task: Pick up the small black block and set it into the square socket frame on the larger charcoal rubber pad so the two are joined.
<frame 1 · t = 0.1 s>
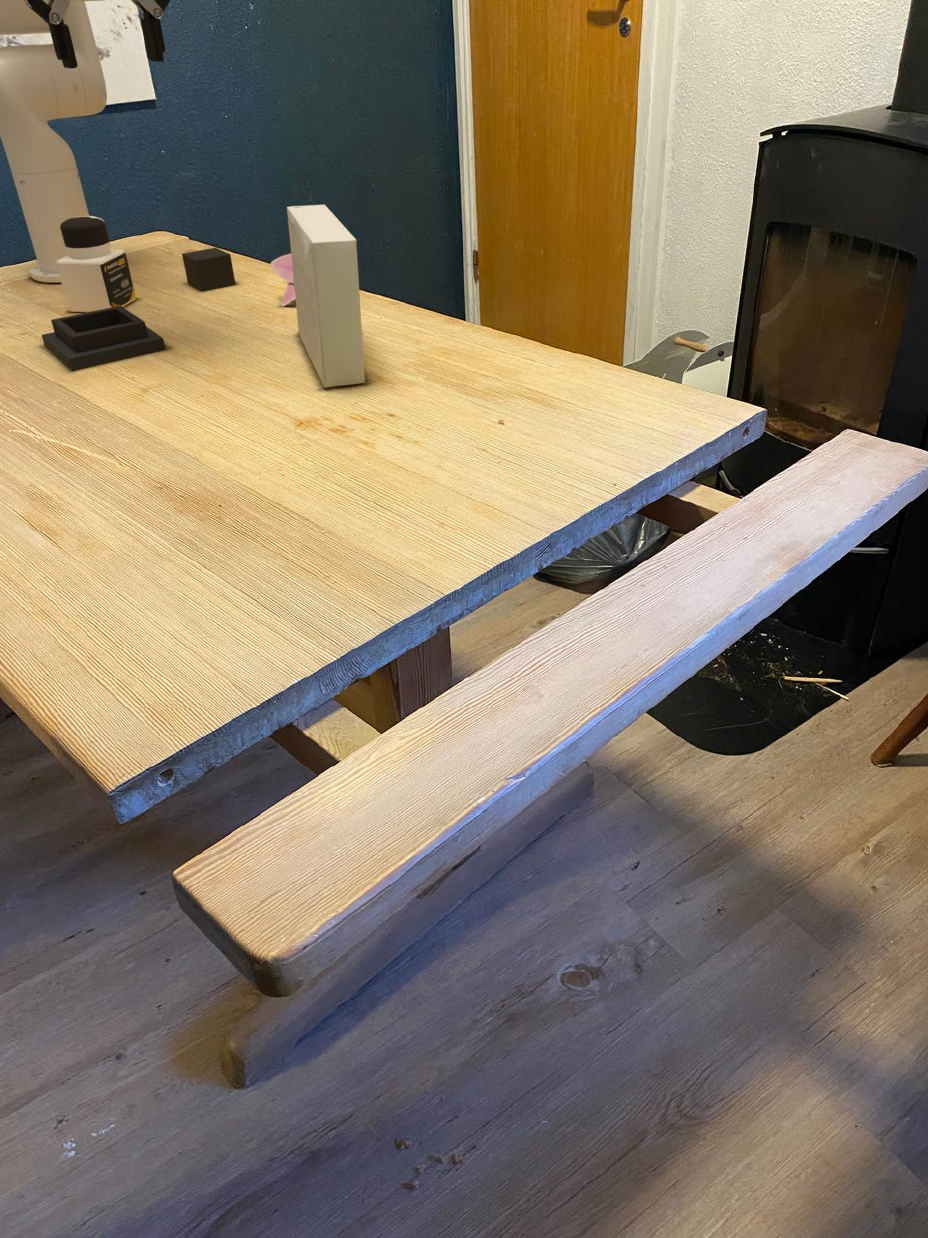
hand: (114, 64, 101), 31 cm above the table, tool pointing down, fingers open, 9 cm apart
base pad: (104, 347, 118), on the table
skincare box: (332, 359, 112), on the table
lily: (312, 304, 131), on the table
medicine bottle: (103, 306, 133), on the table
black block: (211, 283, 141), on the table
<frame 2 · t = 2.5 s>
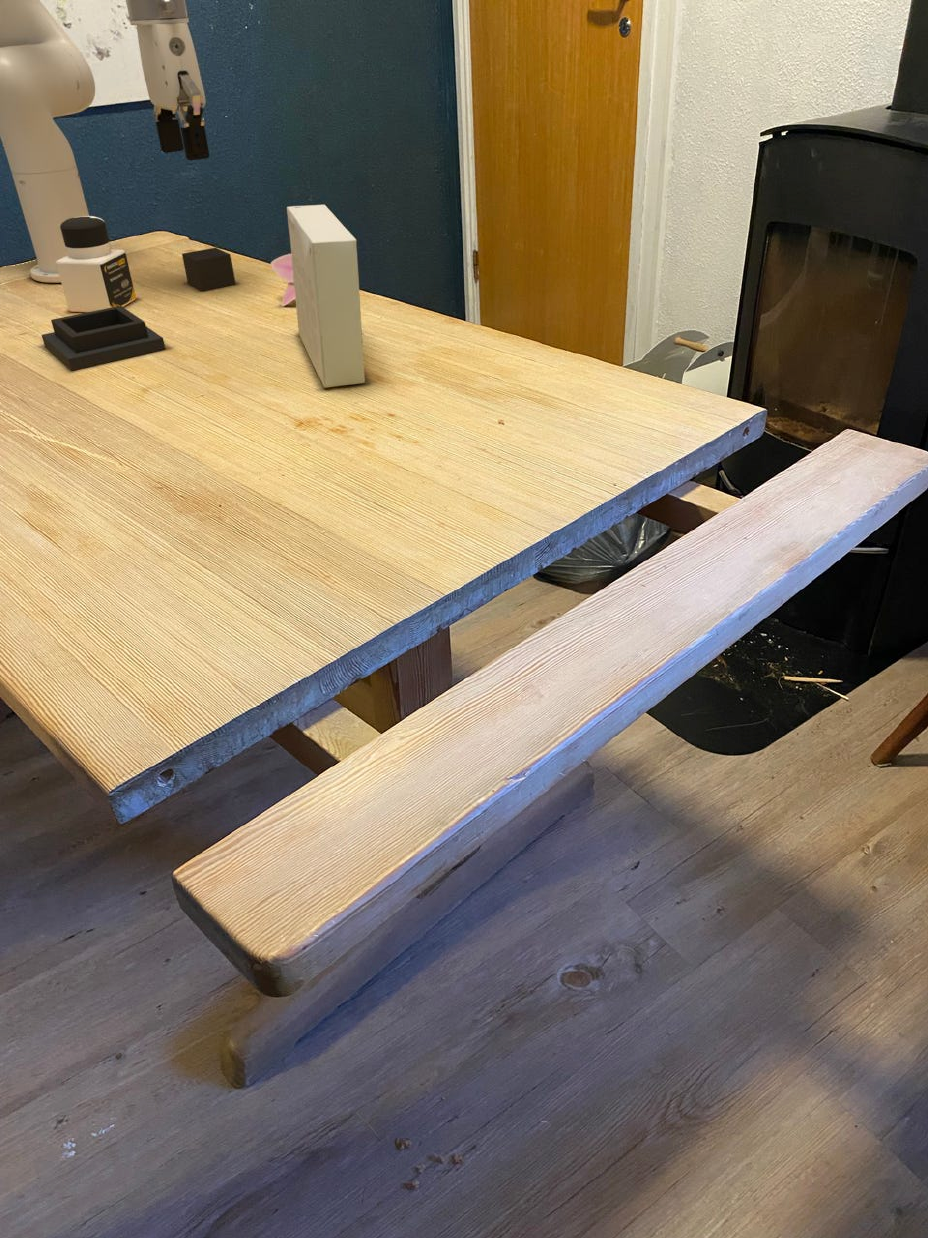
hand: (185, 154, 129), 18 cm above the table, tool pointing down, fingers open, 9 cm apart
nothing on the table moved.
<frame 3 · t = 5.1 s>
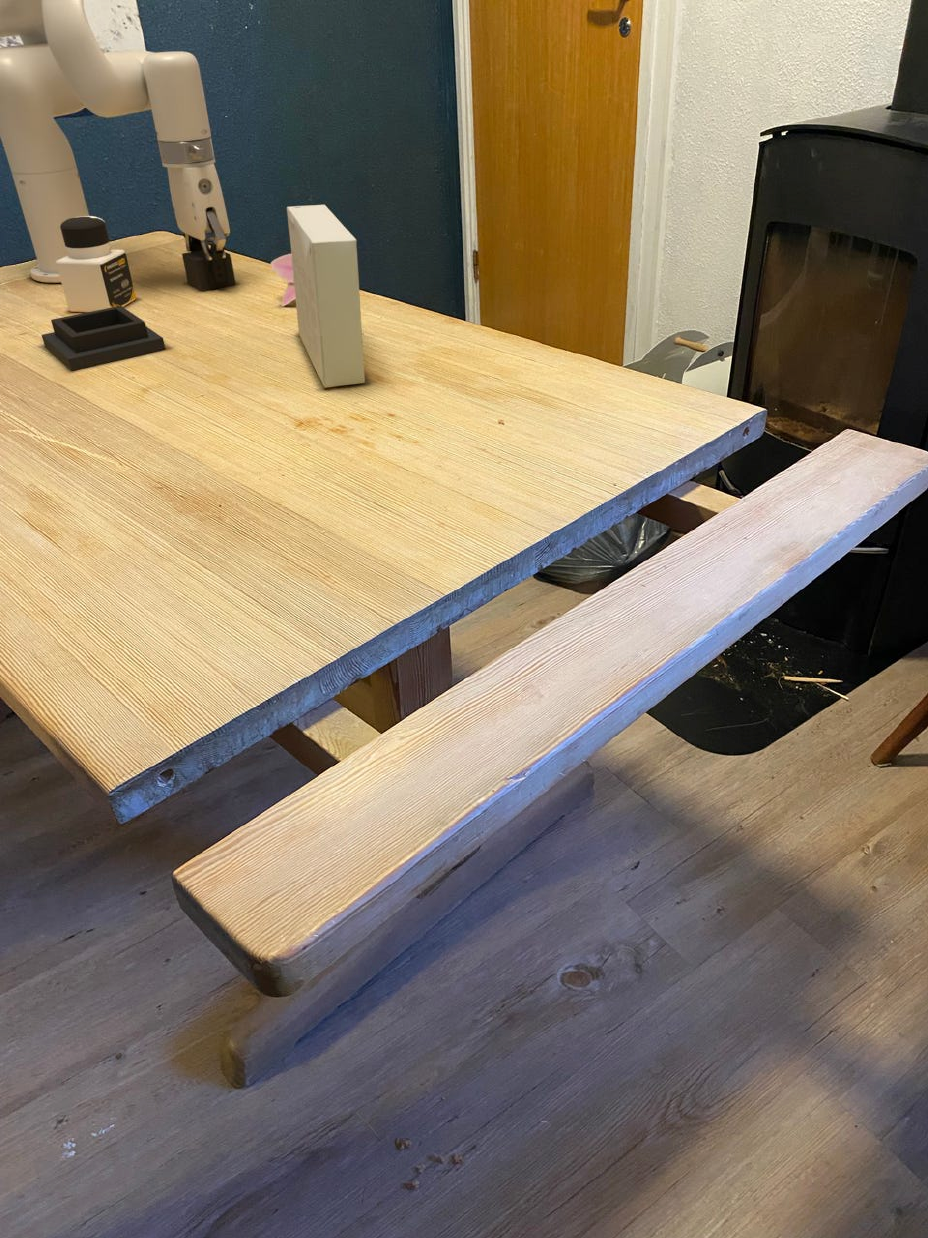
hand: (211, 280, 141), 1 cm above the table, tool pointing down, fingers closed on black block, 5 cm apart
black block: (211, 283, 141), on the table, touching gripper
everything else where it was.
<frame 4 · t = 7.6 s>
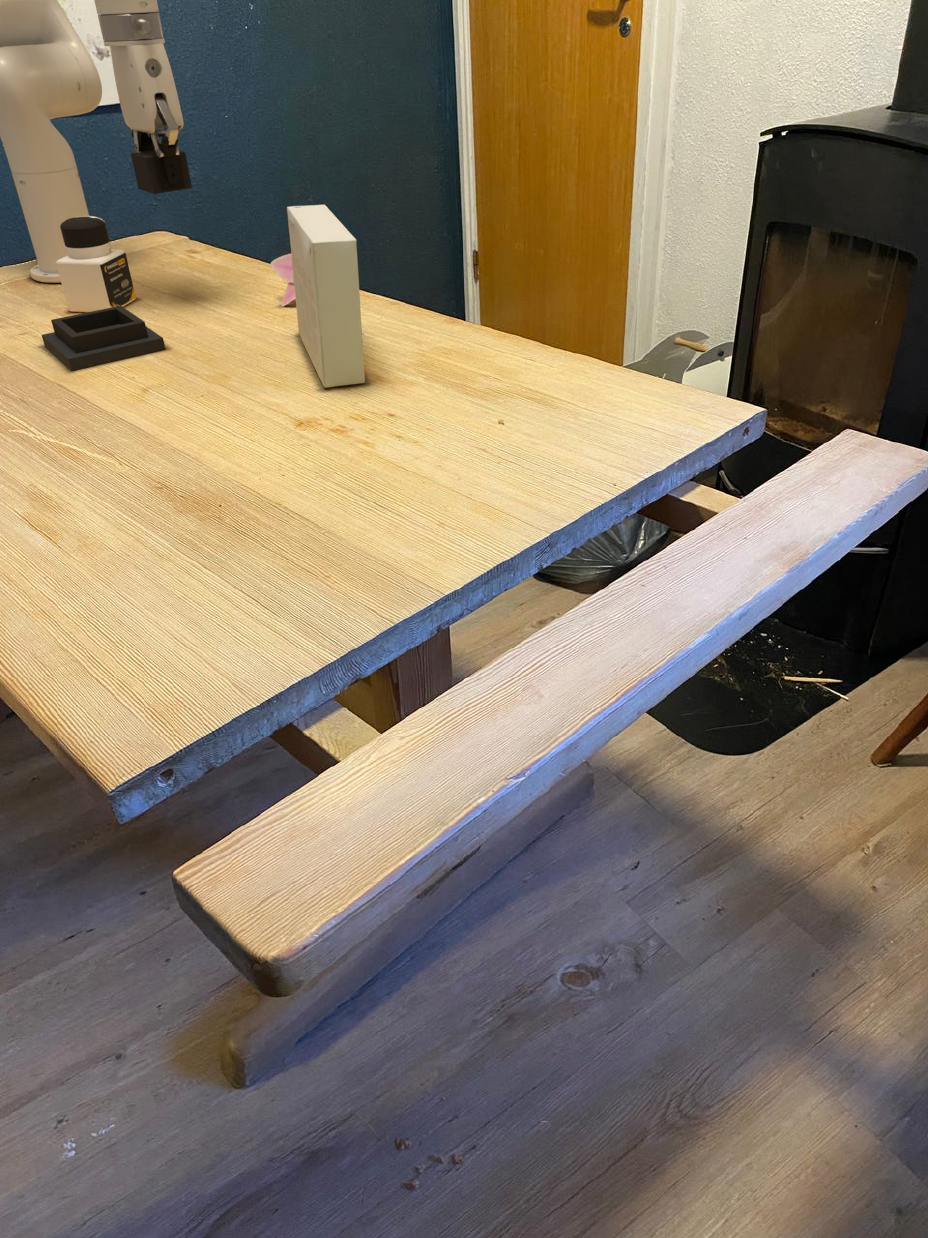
hand: (164, 184, 126), 16 cm above the table, tool pointing down, fingers closed on black block, 5 cm apart
black block: (165, 188, 126), point 15 cm above the table, touching gripper
everything else where it was.
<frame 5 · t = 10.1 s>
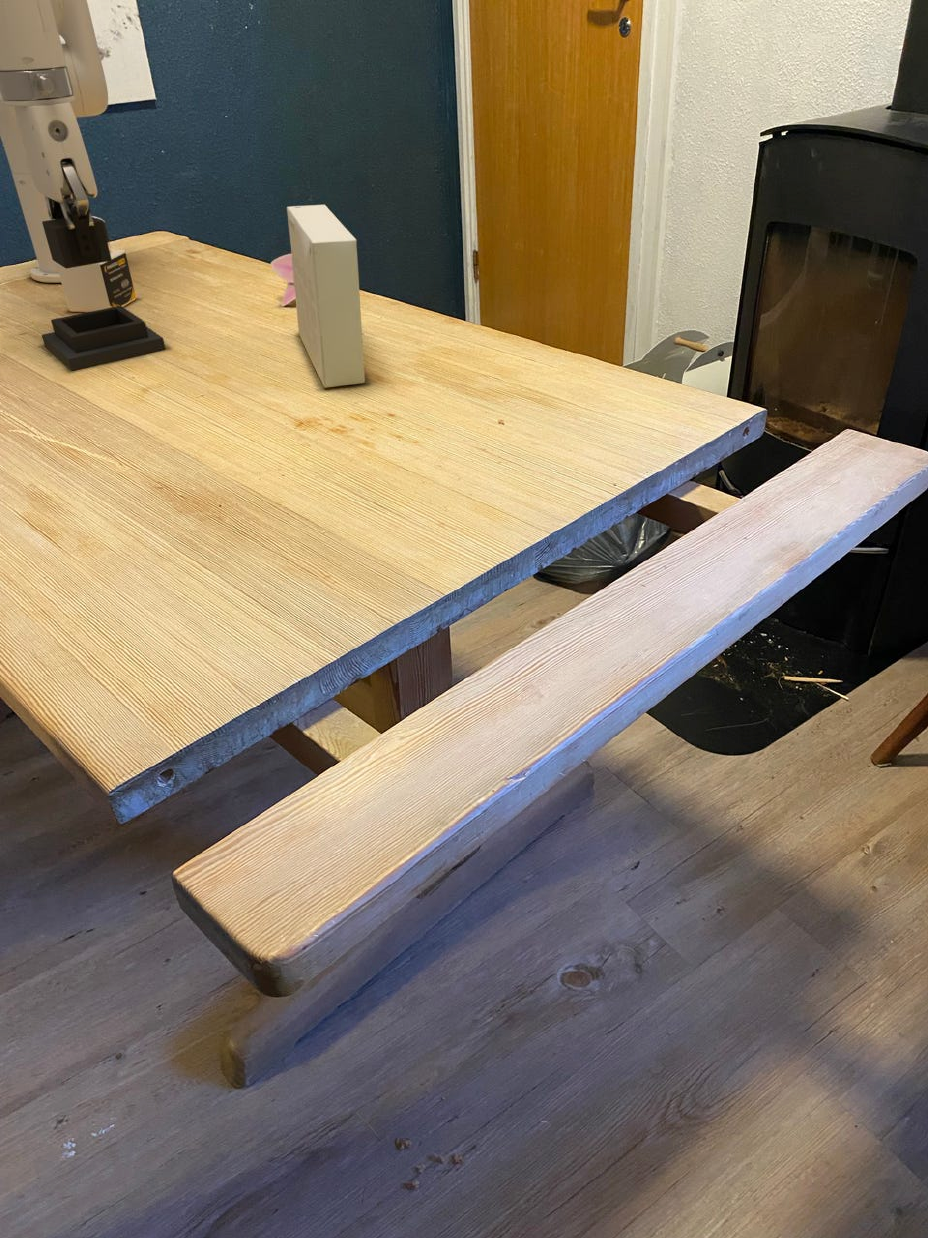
hand: (80, 256, 111), 11 cm above the table, tool pointing down, fingers closed on black block, 5 cm apart
black block: (82, 260, 111), point 11 cm above the table, touching gripper
everything else where it was.
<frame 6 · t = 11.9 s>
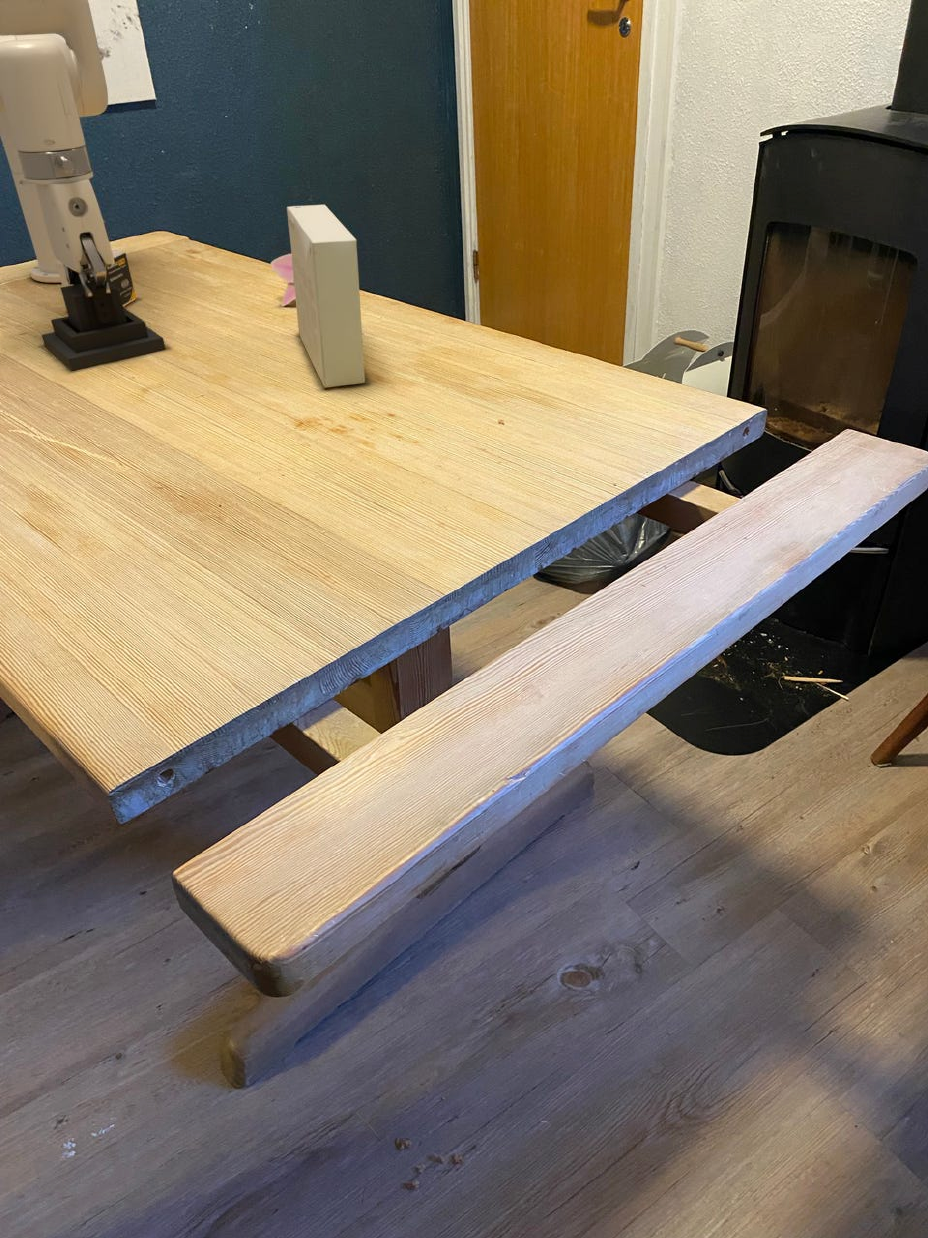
hand: (97, 319, 115), 4 cm above the table, tool pointing down, fingers closed on black block, 5 cm apart
black block: (98, 323, 116), point 3 cm above the table, touching gripper
everything else where it was.
when the fingers open (4 cm above the table, at t = 15.3 s): black block drops 2 cm, resting on base pad.
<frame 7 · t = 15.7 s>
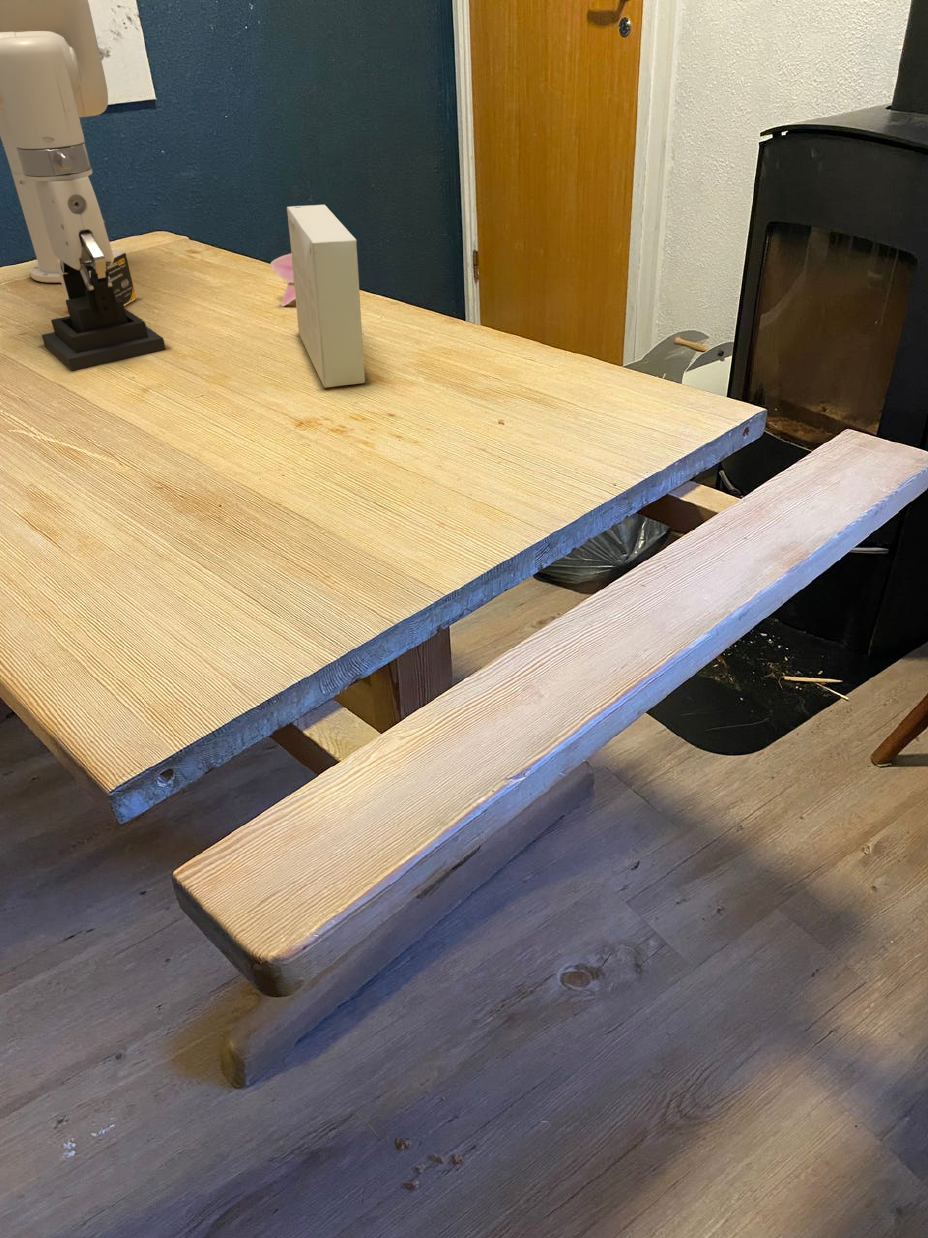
hand: (95, 312, 115), 5 cm above the table, tool pointing down, fingers open, 8 cm apart
black block: (103, 335, 117), point 1 cm above the table, touching base pad
everything else where it was.
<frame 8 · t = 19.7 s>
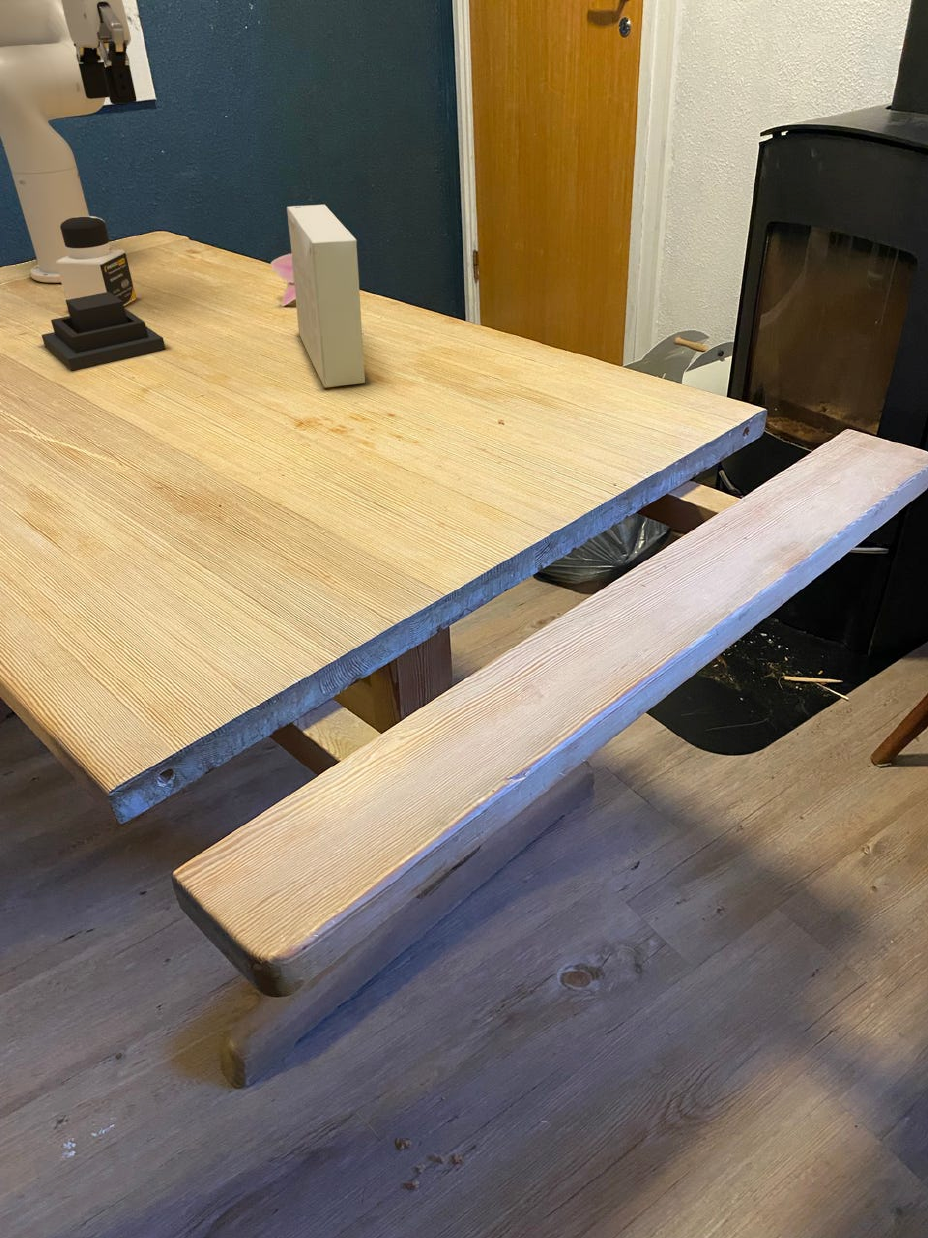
hand: (111, 100, 117), 26 cm above the table, tool pointing down, fingers open, 9 cm apart
nothing on the table moved.
at the end: black block 0.2 cm off-centre on the base pad, point 1.5 cm above the base pad's base; black block tilted 0°; the gripper is holding nothing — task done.
